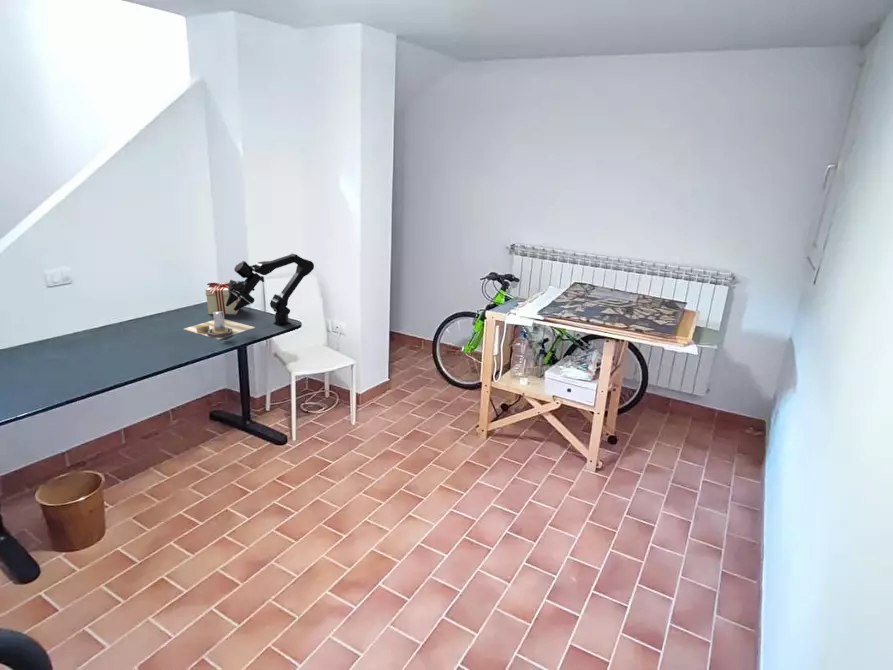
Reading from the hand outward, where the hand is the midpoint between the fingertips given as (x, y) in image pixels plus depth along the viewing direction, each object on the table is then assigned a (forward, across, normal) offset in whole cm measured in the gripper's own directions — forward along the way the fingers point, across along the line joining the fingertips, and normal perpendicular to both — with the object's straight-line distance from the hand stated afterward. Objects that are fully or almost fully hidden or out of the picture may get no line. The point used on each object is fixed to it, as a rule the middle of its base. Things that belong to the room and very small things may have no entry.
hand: (230, 308), depth 276 cm
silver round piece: (+13, 0, +4) cm, 14 cm away
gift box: (+2, -35, +18) cm, 39 cm away
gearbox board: (+12, -8, +7) cm, 16 cm away
